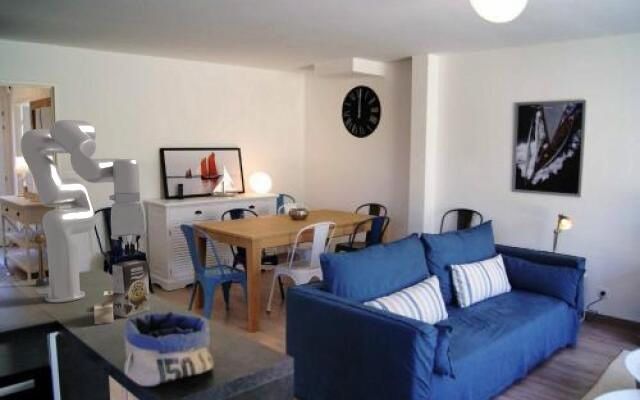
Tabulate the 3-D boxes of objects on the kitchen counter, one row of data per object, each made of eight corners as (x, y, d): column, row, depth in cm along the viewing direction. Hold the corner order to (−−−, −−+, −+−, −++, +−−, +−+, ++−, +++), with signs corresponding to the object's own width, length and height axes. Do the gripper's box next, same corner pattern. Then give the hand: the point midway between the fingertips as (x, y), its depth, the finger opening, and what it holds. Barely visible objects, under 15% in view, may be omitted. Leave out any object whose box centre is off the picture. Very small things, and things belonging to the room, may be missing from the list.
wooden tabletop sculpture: (35, 287, 199) (32, 235, 197) (30, 285, 202) (27, 234, 200) (51, 284, 203) (48, 233, 201) (46, 282, 206) (43, 232, 204)
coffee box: (126, 318, 160) (124, 266, 159) (113, 314, 164) (111, 264, 162) (150, 310, 168) (148, 261, 167) (137, 307, 172) (135, 259, 170)
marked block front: (94, 325, 155) (94, 308, 154) (95, 320, 159) (95, 303, 159) (113, 323, 156) (112, 306, 156) (113, 318, 161) (112, 301, 160)
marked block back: (104, 310, 169) (103, 294, 169) (105, 306, 174) (104, 290, 173) (120, 308, 171) (120, 293, 170) (121, 304, 176) (120, 289, 175)
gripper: (100, 200, 157) (104, 260, 158) (152, 198, 162) (155, 256, 163) (102, 198, 164) (105, 256, 165) (151, 196, 169) (154, 252, 170)
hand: (130, 256), depth 164 cm, fingers closed
